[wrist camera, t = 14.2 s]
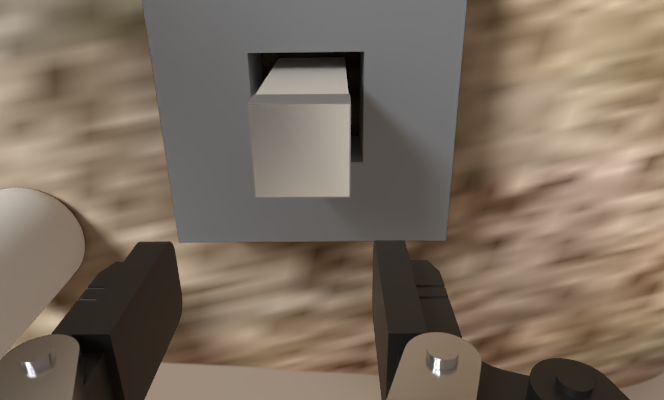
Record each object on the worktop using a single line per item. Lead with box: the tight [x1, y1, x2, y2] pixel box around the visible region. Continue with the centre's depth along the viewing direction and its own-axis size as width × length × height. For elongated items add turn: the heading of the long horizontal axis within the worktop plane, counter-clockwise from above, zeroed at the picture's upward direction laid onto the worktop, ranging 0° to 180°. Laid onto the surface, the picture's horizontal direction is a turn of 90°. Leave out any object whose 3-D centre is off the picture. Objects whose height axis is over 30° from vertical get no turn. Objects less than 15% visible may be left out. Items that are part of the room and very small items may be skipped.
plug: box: [247, 57, 351, 198], centre depth 27 cm, size 4×4×12 cm
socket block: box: [142, 0, 467, 243], centre depth 30 cm, size 16×16×5 cm
